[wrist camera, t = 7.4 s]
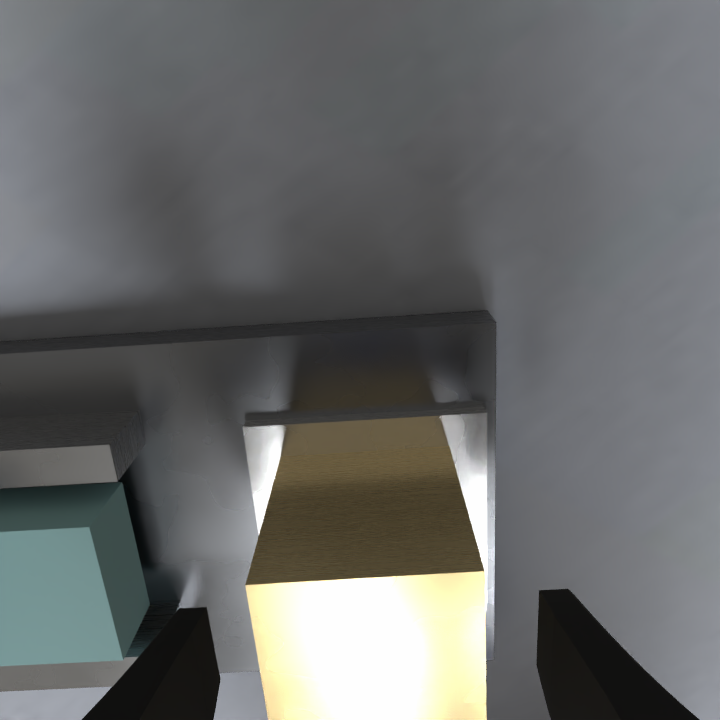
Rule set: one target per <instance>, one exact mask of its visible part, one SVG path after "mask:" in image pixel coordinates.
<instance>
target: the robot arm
mask: <svg viewBox="0 0 720 720" xmlns="http://www.w3.org/2000/svg"><path fill="white" fill-rule="evenodd" d="M537 669H538V673H539V677H540V681H541V685H542V689H543V693H544V696H545V700H546V704H547V708H548V711H549V715H550V718H551V720H699V719H698V718H697V717H696V716H695V715H693V714H692V713H691V712H690V711H689V710H688V709H686V708H685V707H684V706H683V705H682V704H681V703H680V702H679V701H677V700H676V699H675V698H674V697H673V696H672V695H671V694H670V693H669V692H668V691H667V690H665V689H664V688H663V687H662V686H661V685H660V684H659V683H658V682H657V681H656V680H655V679H654V678H653V677H652V676H651V675H650V674H648V673H647V672H646V671H645V670H644V669H643V668H642V667H641V666H640V665H639V664H638V663H637V662H636V661H635V660H634V659H633V658H632V657H631V656H630V655H629V654H628V653H627V652H626V651H625V650H624V649H623V648H622V647H621V645H620V644H619V643H618V642H617V641H616V640H615V639H614V638H613V637H612V636H611V635H610V634H609V633H608V632H607V631H606V630H605V629H604V627H603V626H602V625H601V624H600V623H599V622H598V621H597V620H596V619H595V618H594V617H593V615H592V614H591V613H590V612H589V611H588V610H587V609H586V608H585V607H584V605H583V604H582V603H581V602H580V601H579V600H578V599H577V598H576V596H575V595H574V594H573V593H572V592H571V591H570V590H569V589H558V590H539V611H538V639H537ZM219 685H220V675H219V669H218V664H217V659H216V654H215V648H214V643H213V638H212V632H211V627H210V622H209V616H208V611H207V607H197V608H179V609H178V610H177V611H176V612H175V614H174V615H173V616H172V617H171V618H170V619H169V621H168V622H167V623H166V624H165V625H164V627H163V628H162V629H161V630H160V631H159V633H158V634H157V635H156V636H155V638H154V639H153V640H152V641H151V642H150V644H149V645H148V646H147V647H146V648H145V650H144V651H143V652H142V653H141V654H140V656H139V657H138V658H137V659H136V660H135V661H134V663H133V664H132V665H131V666H130V667H129V668H128V669H127V671H126V672H125V673H124V674H123V675H122V676H121V678H120V679H119V680H118V681H117V682H116V683H115V684H114V686H113V687H112V688H111V689H110V690H109V691H108V692H107V693H106V694H105V696H104V697H103V698H102V699H101V700H100V701H99V702H98V703H97V704H96V705H95V706H94V707H93V708H92V709H91V710H90V711H89V712H88V713H87V715H86V716H85V717H84V718H83V719H82V720H213V718H214V713H215V708H216V702H217V696H218V690H219Z"/></svg>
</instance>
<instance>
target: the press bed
mask: <svg viewBox="0 0 720 720" xmlns="http://www.w3.org/2000/svg"><path fill="white" fill-rule="evenodd" d="M495 433H496V322H495V320H494V319H493V318H492V316H491V315H490V314H489V312H488V311H473V312H458V313H442V314H426V315H411V316H395V317H380V318H364V319H349V320H333V321H318V322H302V323H286V324H271V325H255V326H240V327H224V328H209V329H193V330H178V331H162V332H147V333H131V334H115V335H100V336H84V337H69V338H53V339H38V340H22V341H7V342H0V489H12V488H29V487H47V486H65V485H82V484H100V483H118V482H122V484H123V488H124V493H125V497H126V501H127V506H128V510H129V515H130V519H131V523H132V528H133V532H134V537H135V541H136V545H137V550H138V554H139V558H140V563H141V567H142V572H143V576H144V580H145V585H146V589H147V593H148V598H149V602H150V605H149V607H148V609H147V612H146V614H145V616H144V618H143V620H142V622H141V624H140V626H139V628H138V631H137V633H136V635H135V637H134V639H133V641H132V643H131V645H130V647H129V650H128V652H127V654H126V656H125V658H124V660H121V661H100V662H79V663H58V664H37V665H16V666H0V692H2V691H23V690H45V689H66V688H88V687H109V686H114V684H115V683H116V682H117V681H118V680H119V679H120V678H121V676H122V675H123V674H124V673H125V672H126V671H127V669H128V668H129V667H130V666H131V665H132V664H133V663H134V661H135V660H136V659H137V658H138V657H139V656H140V654H141V653H142V652H143V651H144V650H145V648H146V647H147V646H148V645H149V644H150V642H151V641H152V640H153V639H154V638H155V636H156V635H157V634H158V633H159V631H160V630H161V629H162V628H163V627H164V625H165V624H166V623H167V622H168V621H169V619H170V618H171V617H172V616H173V615H174V614H175V612H176V611H177V610H178V609H179V608H197V607H207V611H208V616H209V622H210V627H211V632H212V638H213V643H214V648H215V654H216V659H217V664H218V669H219V673H230V672H251V671H260V668H259V663H258V657H257V651H256V645H255V639H254V633H253V628H252V622H251V616H250V610H249V604H248V598H247V593H246V587H245V584H246V580H247V577H248V573H249V570H250V566H251V562H252V559H253V555H254V551H255V548H256V544H257V541H258V537H259V533H260V530H261V526H262V522H263V519H264V515H265V511H266V508H267V504H268V501H269V497H270V493H271V490H272V486H273V482H274V479H275V475H276V471H277V468H278V464H279V461H280V457H285V456H301V455H316V454H331V453H347V452H362V451H377V450H393V449H408V448H423V447H439V446H449V447H450V451H451V454H452V458H453V461H454V465H455V468H456V472H457V475H458V479H459V482H460V486H461V489H462V493H463V496H464V500H465V503H466V507H467V510H468V514H469V517H470V521H471V524H472V528H473V531H474V535H475V538H476V542H477V545H478V549H479V552H480V556H481V559H482V563H483V566H484V570H485V626H486V660H494V577H495Z"/></svg>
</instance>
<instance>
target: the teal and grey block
mask: <svg viewBox="0 0 720 720" xmlns="http://www.w3.org/2000/svg"><path fill="white" fill-rule="evenodd" d="M149 605H150V602H149V598H148V593H147V589H146V585H145V580H144V576H143V572H142V567H141V563H140V558H139V554H138V550H137V545H136V541H135V537H134V532H133V528H132V523H131V519H130V515H129V510H128V506H127V501H126V497H125V493H124V488H123V484H122V482H118V483H100V484H82V485H65V486H47V487H29V488H12V489H0V666H16V665H37V664H58V663H79V662H100V661H121V660H124V658H125V656H126V654H127V652H128V650H129V647H130V645H131V643H132V641H133V639H134V637H135V635H136V633H137V631H138V628H139V626H140V624H141V622H142V620H143V618H144V616H145V614H146V612H147V609H148V607H149Z"/></svg>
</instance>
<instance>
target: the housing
mask: <svg viewBox="0 0 720 720" xmlns="http://www.w3.org/2000/svg"><path fill="white" fill-rule="evenodd" d="M245 587H246V593H247V598H248V604H249V610H250V616H251V622H252V628H253V633H254V639H255V645H256V651H257V657H258V663H259V668H260V674H261V680H262V686H263V692H264V698H265V703H266V709H267V715H268V720H486V626H485V570H484V566H483V563H482V559H481V556H480V552H479V549H478V545H477V542H476V538H475V535H474V531H473V528H472V524H471V521H470V517H469V514H468V510H467V507H466V503H465V500H464V496H463V493H462V489H461V486H460V482H459V479H458V475H457V472H456V468H455V465H454V461H453V458H452V454H451V451H450V447H449V446H439V447H423V448H408V449H393V450H377V451H362V452H347V453H331V454H316V455H301V456H285V457H280V461H279V464H278V468H277V471H276V475H275V479H274V482H273V486H272V490H271V493H270V497H269V501H268V504H267V508H266V511H265V515H264V519H263V522H262V526H261V530H260V533H259V537H258V541H257V544H256V548H255V551H254V555H253V559H252V562H251V566H250V570H249V573H248V577H247V580H246V584H245Z"/></svg>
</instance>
